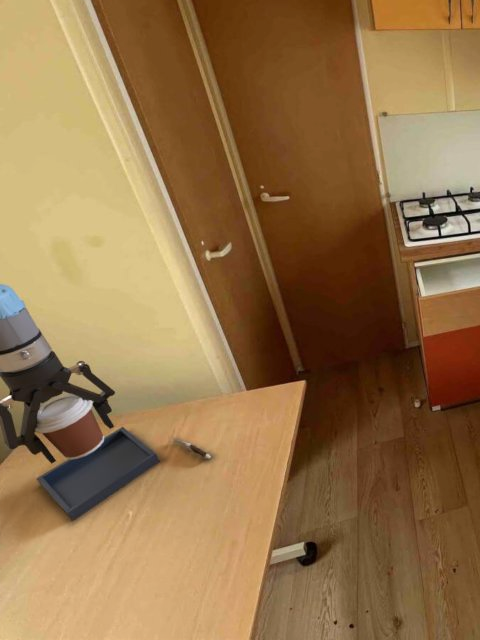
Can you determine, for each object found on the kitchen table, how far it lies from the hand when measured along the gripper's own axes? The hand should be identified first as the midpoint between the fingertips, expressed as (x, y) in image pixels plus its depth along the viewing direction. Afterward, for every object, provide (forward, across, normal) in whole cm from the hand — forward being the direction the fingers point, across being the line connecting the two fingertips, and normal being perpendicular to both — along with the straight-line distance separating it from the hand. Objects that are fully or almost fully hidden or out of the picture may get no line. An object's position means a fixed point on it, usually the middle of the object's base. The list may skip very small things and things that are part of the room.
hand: (81, 441), depth 90 cm
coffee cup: (+2, 0, 0) cm, 2 cm away
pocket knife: (+11, +13, -11) cm, 20 cm away
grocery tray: (+10, 0, 0) cm, 10 cm away
